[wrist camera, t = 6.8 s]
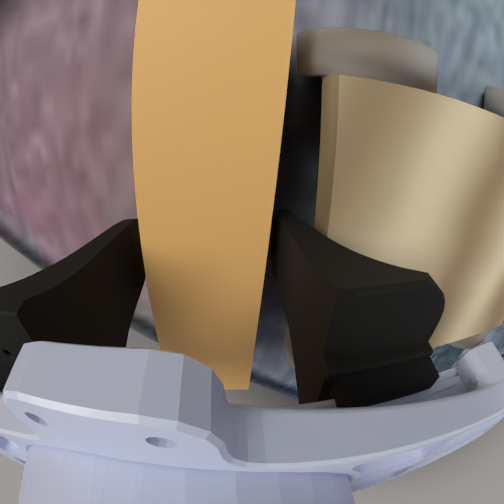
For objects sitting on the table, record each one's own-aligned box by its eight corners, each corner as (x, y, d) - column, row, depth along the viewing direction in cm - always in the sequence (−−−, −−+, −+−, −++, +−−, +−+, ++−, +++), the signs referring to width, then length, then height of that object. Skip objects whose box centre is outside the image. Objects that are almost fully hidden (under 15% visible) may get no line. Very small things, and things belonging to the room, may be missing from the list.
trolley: (515, 103, 10) (573, 127, 6) (462, 294, 18) (494, 339, 14) (285, 42, 9) (319, 19, 5) (278, 319, 18) (290, 389, 13)
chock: (271, 28, 9) (296, -3, 5) (243, 321, 18) (248, 389, 14) (174, 25, 9) (139, -5, 5) (179, 318, 17) (170, 386, 13)
